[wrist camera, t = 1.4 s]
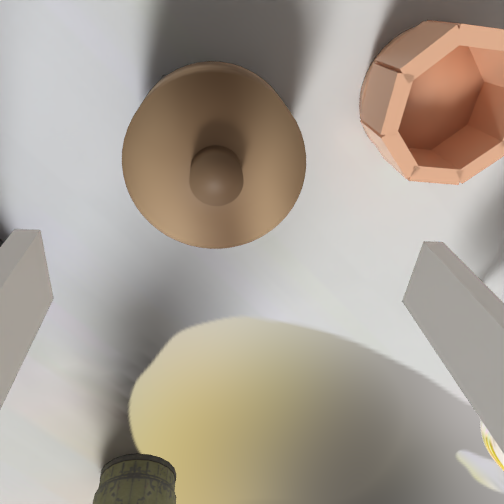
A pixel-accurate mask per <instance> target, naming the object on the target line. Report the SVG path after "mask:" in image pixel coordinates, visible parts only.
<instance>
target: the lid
mask: <svg viewBox="0 0 504 504" xmlns="http://www.w3.org/2000/svg"><path fill="white" fill-rule="evenodd" d="M122 168H123V175H124V179H125V183H126V187H127V189H128V192H129V194H130V196H131V198H132V200H133V202H134V204H135V205H136V207H137V208H138V210H139V211H140V212H141V214H142V215H143V216H144V217H145V218H146V219H147V220H148V221H149V222H150V223H151V224H152V225H153V226H154V227H155V228H157V229H158V230H159V231H161V232H162V233H164V234H165V235H167V236H169V237H171V238H173V239H175V240H177V241H179V242H182V243H185V244H188V245H191V246H196V247H201V248H210V249H216V248H230V247H235V246H239V245H243V244H246V243H249V242H252V241H254V240H256V239H258V238H260V237H262V236H263V235H265V234H266V233H268V232H270V231H271V230H272V229H273V228H275V227H276V226H277V225H278V224H279V223H280V222H281V221H282V220H283V219H284V218H285V217H286V216H287V215H288V213H289V212H290V210H291V209H292V208H293V206H294V204H295V202H296V201H297V199H298V197H299V194H300V192H301V189H302V186H303V182H304V178H305V171H306V152H305V145H304V141H303V138H302V134H301V131H300V129H299V127H298V125H297V122H296V120H295V119H294V117H293V116H292V114H291V112H290V111H289V109H288V108H287V107H286V105H285V104H284V102H283V101H282V100H281V98H280V97H279V95H278V94H277V93H276V92H275V90H274V89H273V88H272V87H271V86H270V85H269V84H268V83H267V82H266V81H265V80H263V79H262V78H261V77H259V76H258V75H256V74H255V73H253V72H251V71H249V70H247V69H245V68H243V67H240V66H237V65H234V64H230V63H225V62H215V61H208V62H198V63H194V64H190V65H186V66H184V67H181V68H179V69H176V70H175V71H173V72H171V73H170V74H168V75H166V76H165V77H164V78H163V79H161V80H160V81H159V82H158V83H157V84H156V85H155V86H154V87H153V88H152V89H151V90H150V92H149V93H148V95H147V96H146V98H145V99H144V100H143V102H142V104H141V105H140V107H139V108H138V110H137V111H136V113H135V115H134V116H133V118H132V120H131V122H130V124H129V126H128V129H127V132H126V135H125V138H124V143H123V149H122Z"/></svg>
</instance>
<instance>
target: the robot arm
mask: <svg viewBox="0 0 504 504" xmlns="http://www.w3.org/2000/svg"><path fill="white" fill-rule="evenodd" d="M53 299H54V298H53V293H52V288H51V283H50V278H49V272H48V267H47V262H46V257H45V252H44V246H43V241H42V236H41V231H40V230H27V229H14V230H13V232H12V233H11V234H10V236H9V237H8V238H7V239H6V241H5V242H4V243H3V242H2V241H1V240H0V409H1V407H2V405H3V403H4V401H5V398H6V396H7V394H8V392H9V390H10V388H11V386H12V384H13V382H14V380H15V378H16V376H17V373H18V371H19V369H20V367H21V365H22V363H23V361H24V359H25V357H26V355H27V353H28V351H29V349H30V346H31V344H32V342H33V340H34V338H35V336H36V334H37V332H38V330H39V328H40V326H41V324H42V321H43V319H44V317H45V315H46V313H47V311H48V309H49V307H50V305H51V303H52V301H53ZM402 302H403V303H404V305H405V306H406V308H407V309H408V311H409V312H410V314H411V315H412V317H413V318H414V320H415V321H416V323H417V324H418V326H419V327H420V329H421V330H422V332H423V333H424V335H425V336H426V338H427V339H428V341H429V342H430V344H431V345H432V347H433V348H434V350H435V351H436V353H437V354H438V356H439V357H440V359H441V360H442V362H443V363H444V365H445V366H446V368H447V369H448V371H449V372H450V374H451V375H452V377H453V378H454V380H455V381H456V383H457V384H458V386H459V387H460V389H461V390H462V392H463V393H464V395H465V396H466V398H467V399H468V401H469V402H470V404H471V405H472V407H473V408H474V410H475V411H476V413H477V414H478V416H479V417H480V419H481V420H482V422H483V423H484V425H485V426H486V428H487V429H488V431H489V432H490V434H491V435H492V437H493V438H494V440H495V441H496V443H497V444H498V446H499V447H500V449H501V450H502V452H503V453H504V303H503V302H502V301H501V300H500V299H499V298H498V297H497V296H496V295H495V294H494V293H493V292H492V291H491V290H490V289H489V288H488V287H487V286H486V285H485V284H484V283H483V282H482V281H481V280H480V279H479V278H478V277H477V276H476V275H475V274H474V273H473V272H472V271H471V270H470V269H469V268H468V267H467V266H466V265H465V264H464V263H463V262H462V261H461V260H460V259H459V258H458V257H457V256H456V255H455V254H454V253H453V252H452V251H451V250H450V249H449V248H448V247H447V246H446V245H445V244H444V243H443V242H425V241H424V242H423V244H422V247H421V250H420V253H419V256H418V258H417V261H416V264H415V267H414V270H413V272H412V275H411V278H410V281H409V284H408V286H407V289H406V292H405V295H404V298H403V300H402Z"/></svg>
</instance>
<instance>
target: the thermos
mask: <svg viewBox="0 0 504 504" xmlns="http://www.w3.org/2000/svg"><path fill="white" fill-rule="evenodd" d="M175 481H176V472H175V469H174V467H173V466H172V465H171V464H170V463H169V462H168V461H166V460H164V459H162V458H160V457H156V456H152V455H147V454H132V455H124V456H122V457H119V458H116V459H113V460H112V461H110V462H109V463H107V464H106V465H105V467H104V468H103V470H102V472H101V477H100V484H99V488H98V490H97V492H96V493H95V496H94V500H93V504H176V495H175V492H174V489H175Z"/></svg>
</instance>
